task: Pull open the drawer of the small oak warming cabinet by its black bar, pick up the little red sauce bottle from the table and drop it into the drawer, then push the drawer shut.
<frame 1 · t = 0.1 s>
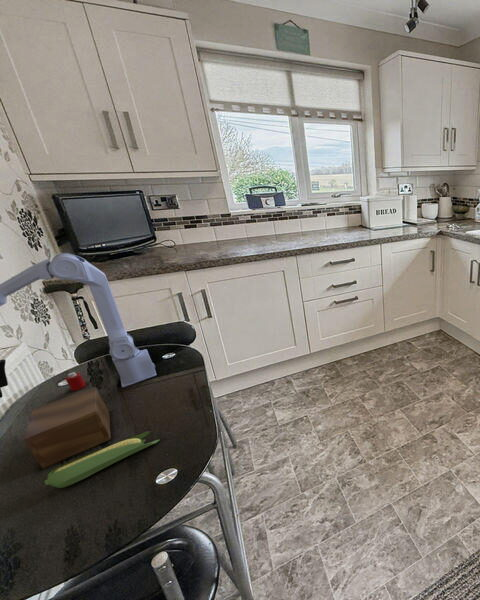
drawer: (72, 415, 87), point 5 cm above the table, slide at 0.5 cm
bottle: (78, 387, 109), on the table
edible corn: (111, 464, 77), on the table
cabinet: (79, 437, 86), on the table
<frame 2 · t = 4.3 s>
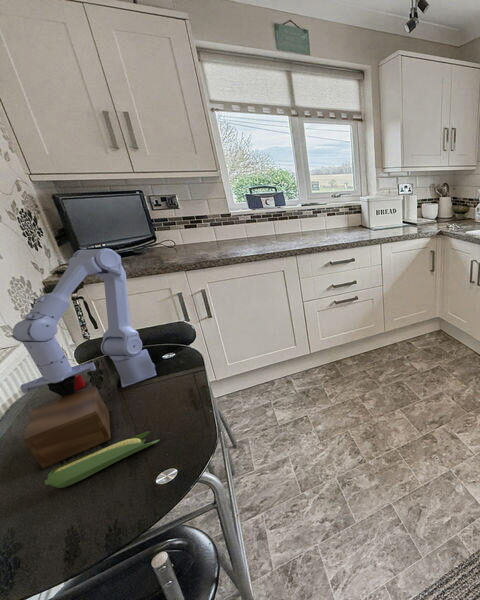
hand: (73, 401, 93), 5 cm above the table, tool pointing down, fingers closed, pressing on drawer
drawer: (72, 413, 88), point 5 cm above the table, slide at 2.1 cm, touching gripper
everything else where it was.
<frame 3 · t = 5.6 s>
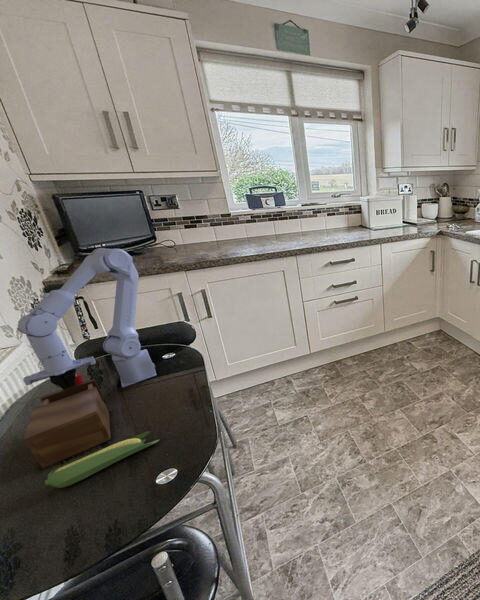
hand: (74, 393, 96), 5 cm above the table, tool pointing down, fingers closed, pressing on drawer
drawer: (73, 404, 92), point 5 cm above the table, slide at 7.1 cm, touching gripper
everything else where it was.
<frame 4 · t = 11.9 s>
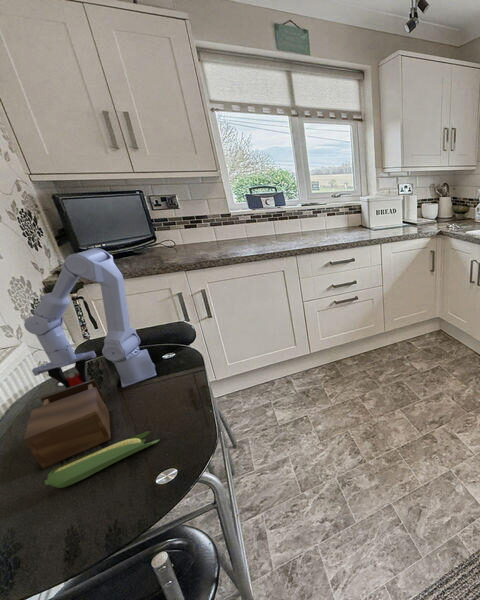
hand: (76, 384, 108), 1 cm above the table, tool pointing down, fingers closed on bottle, 3 cm apart
drawer: (73, 404, 92), point 5 cm above the table, slide at 7.1 cm
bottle: (78, 387, 109), on the table, touching gripper
everything else where it was.
when the fingers open (6 cm above the table, at t = 17.1 s): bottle drops 3 cm, resting on drawer.
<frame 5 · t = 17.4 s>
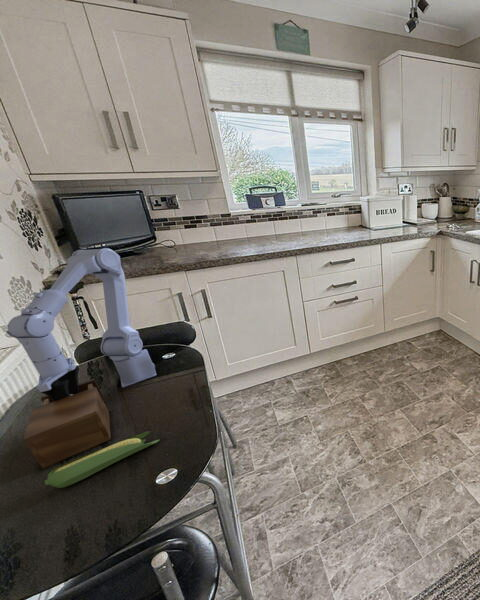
hand: (70, 398, 91), 7 cm above the table, tool pointing down, fingers open, 4 cm apart
drawer: (73, 404, 92), point 5 cm above the table, slide at 7.4 cm, touching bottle, gripper
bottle: (77, 411, 93), point 2 cm above the table, touching drawer
everything else where it was.
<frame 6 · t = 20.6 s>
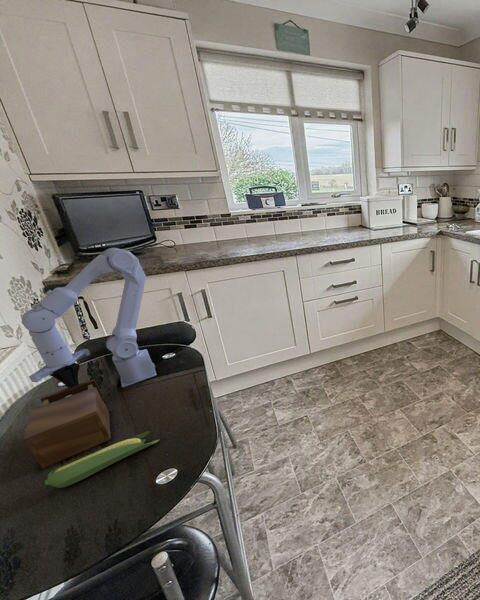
hand: (74, 387, 99), 5 cm above the table, tool pointing down, fingers closed
drawer: (73, 404, 92), point 5 cm above the table, slide at 6.9 cm, touching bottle, gripper
everything else where it was.
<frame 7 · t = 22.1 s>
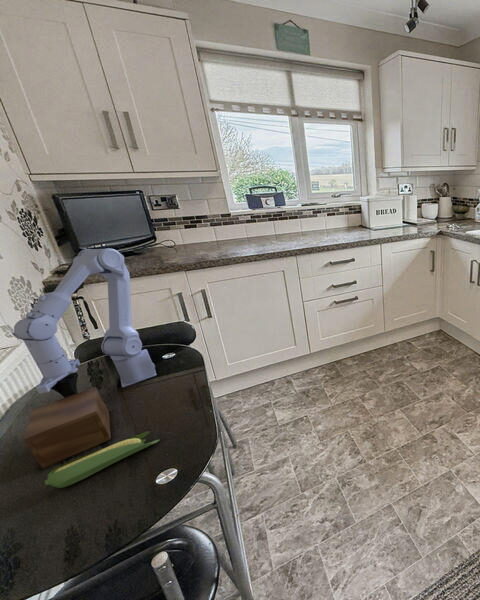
hand: (72, 399, 94), 5 cm above the table, tool pointing down, fingers closed, pressing on drawer
drawer: (72, 416, 87), point 5 cm above the table, slide at 0.0 cm, touching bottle, cabinet, gripper
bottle: (76, 424, 88), point 2 cm above the table, touching drawer
everything else where it was.
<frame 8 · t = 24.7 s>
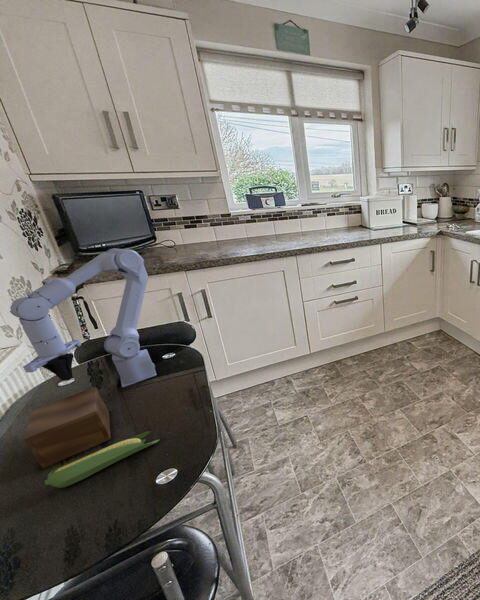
hand: (67, 379, 96), 9 cm above the table, tool pointing down, fingers closed
drawer: (72, 416, 87), point 5 cm above the table, slide at 0.0 cm, touching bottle, cabinet
everything else where it was.
at the end: drawer pulled out 7.5 cm at the most during the clip, back to where it started at the end; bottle inside the target area in the cabinet (3.9 cm from its centre), point 2.0 cm above the cabinet's base; drawer slide at 0.0 cm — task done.
